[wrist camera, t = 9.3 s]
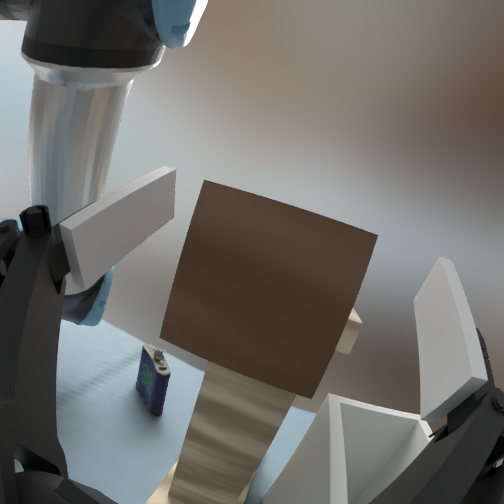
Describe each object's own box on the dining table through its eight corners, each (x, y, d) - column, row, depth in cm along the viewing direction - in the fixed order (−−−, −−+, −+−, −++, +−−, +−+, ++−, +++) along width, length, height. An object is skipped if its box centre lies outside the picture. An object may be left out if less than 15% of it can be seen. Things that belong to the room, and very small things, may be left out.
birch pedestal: (225, 545, 18) (362, 323, 15) (143, 510, 20) (201, 266, 17) (262, 444, 40) (335, 277, 37) (206, 422, 42) (264, 253, 39)
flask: (133, 382, 45) (143, 333, 44) (148, 382, 47) (158, 335, 46) (150, 417, 38) (161, 366, 37) (166, 416, 40) (179, 366, 39)
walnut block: (311, 398, 6) (378, 235, 6) (159, 337, 7) (204, 179, 6) (314, 273, 33) (325, 241, 33) (282, 262, 34) (293, 230, 34)
